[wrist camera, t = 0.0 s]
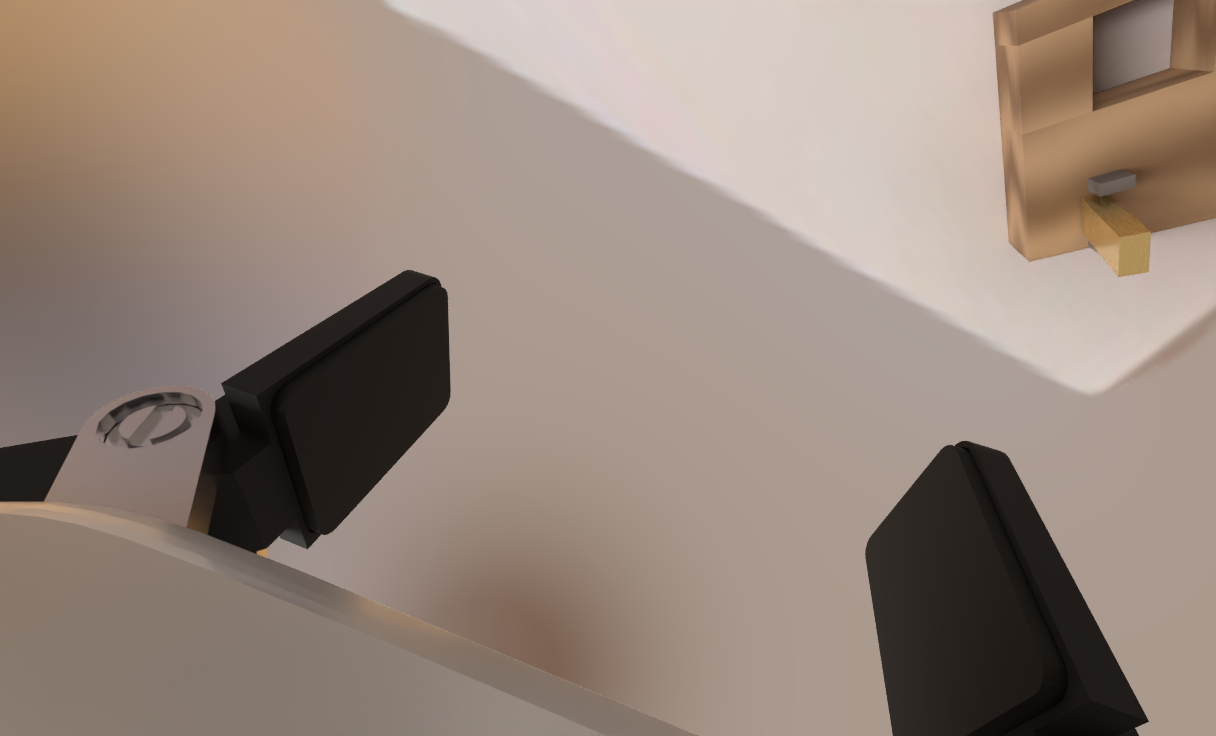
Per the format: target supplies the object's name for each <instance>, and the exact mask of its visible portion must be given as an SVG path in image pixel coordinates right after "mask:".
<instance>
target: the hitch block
mask: <svg viewBox="0 0 1216 736" xmlns="http://www.w3.org/2000/svg"><path fill="white" fill-rule="evenodd" d="M1131 1H1133V0H1022V1H1020V2H1018V3H1015V4H1013V5H1010V6H1008V7H1006V8H1003V9H1001V10H999V11H996V12H994V13H993V21H994V35H995V49H996V63H997V78H998V92H999V106H1000V120H1001V135H1002V149H1003V163H1004V177H1005V191H1006V206H1007V220H1008V234H1009V243H1010V244H1011V245H1012V246H1013V247H1014V248H1015V249H1016V250H1017V251H1018V252H1019V253H1021V254H1022V255H1023V256H1024V257H1025V258H1026V259H1027V260H1028V261H1029V262H1030V261H1034V260H1039V259H1043V258H1047V257H1051V256H1056V255H1060V254H1064V253H1068V252H1073V251H1077V250H1081V249H1085V248H1090V247H1091V248H1092V249H1094V250H1095V251H1096V252H1098V251H1097V250H1096V249H1095V248H1094V247H1093V245H1092V244H1091V243H1090V242H1089V241H1088V239H1087V238H1086V237H1085V236H1084V234H1083V233H1082V198H1087V197H1091V196H1095V195H1098V196H1100V197H1101V196H1105V195H1109V194H1110V195H1111V196H1112V197H1113V198H1114V199H1115V200H1116V201H1117V202H1118V203H1120V204H1121V205H1122V206H1123V207H1124V208H1125V209H1126V210H1127V211H1128V212H1130V213H1131V214H1132V215H1133V216H1134V217H1135V218H1136V219H1137V220H1138V221H1140V222H1141V223H1142V224H1143V225H1144V226H1145V227H1146V228H1147V229H1148V230H1150V231H1151V233H1153V232H1158V231H1162V230H1166V229H1170V228H1174V227H1179V226H1183V225H1187V224H1191V223H1196V222H1200V221H1204V220H1208V219H1213V218H1216V0H1174V11H1173V27H1172V43H1171V59H1170V68H1169V69H1166V70H1163V71H1160V72H1157V73H1154V74H1151V75H1148V76H1145V77H1143V78H1140V79H1137V80H1134V81H1131V82H1128V83H1125V84H1122V85H1119V86H1116V87H1113V88H1110V89H1107V90H1104V91H1101V92H1098V93H1096V94H1093V16H1095V15H1098V14H1100V13H1103V12H1105V11H1108V10H1110V9H1113V8H1115V7H1118V6H1121V5H1123V4H1126V3H1128V2H1131Z"/></svg>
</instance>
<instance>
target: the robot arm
mask: <svg viewBox="0 0 1216 736" xmlns="http://www.w3.org/2000/svg"><path fill="white" fill-rule="evenodd" d="M221 384H222V386H223V389H224V392H225V395H224V396H222V397H221V398H219V399H217V400H216V401H214V399H213V398H212V397H211V396H210V394H209V393H207V392H205V391H203V390H200V389H199V388H194V387H188V386H161V387H155V388H149V389H144V390H141V391H138V392H134V393H131V394H128V395H125V396H123V397H121V398H119V399H117V400H114V401H112V402H110V403H108V404H106V405H105V406H104V407H102V408H101V409H99V410H98V411H97V412H95V413H94V414H93V415H91V417H90V418H89V419H88V420H87V422H86V423H85V424H84V425H83V427H82V429H81V431H80V432H79V434H78V435H75V436H70V437H63V438H57V439H51V440H46V441H39V442H33V443H27V444H21V445H15V446H10V447H3V448H0V736H698V735H695V734H693V733H691V732H688V731H686V730H683V729H681V728H679V727H676V726H674V725H671V724H669V723H667V722H664V721H662V720H659V719H657V718H655V717H652V716H650V715H647V714H645V713H643V712H640V711H638V710H635V709H633V708H630V707H628V706H626V705H623V704H621V703H619V702H616V701H614V700H611V699H609V698H607V697H604V696H602V695H599V694H597V693H594V692H592V691H589V690H587V689H585V688H583V687H580V686H578V685H575V684H573V683H571V682H568V681H566V680H563V679H561V678H559V677H556V676H554V675H551V674H549V673H547V672H544V671H541V670H539V669H537V668H535V667H532V666H530V665H527V664H525V663H522V662H520V661H518V660H515V659H513V658H510V657H508V656H506V655H503V654H501V653H498V652H496V651H494V650H491V649H489V648H486V647H484V646H481V645H479V644H477V643H474V642H472V641H470V640H467V639H464V638H462V637H459V636H457V635H455V634H452V633H450V632H448V631H445V630H443V629H440V628H438V627H435V626H433V625H430V624H428V623H426V622H423V621H421V620H418V619H416V618H414V617H411V616H408V615H406V614H404V613H401V612H399V611H396V610H394V609H391V608H389V607H387V606H384V605H382V604H379V603H377V602H374V601H372V600H370V599H367V598H365V597H362V596H360V595H357V594H355V593H353V592H350V591H348V590H345V589H343V588H340V587H338V586H335V585H333V584H330V583H328V582H325V581H323V580H321V579H318V578H316V577H314V576H311V575H309V574H306V573H304V572H301V571H299V570H296V569H294V568H290V567H289V566H286V565H283V564H281V563H278V562H276V561H273V560H270V559H268V558H267V553H268V546H269V545H270V544H272V543H273V542H274V540H276V539H277V538H278V536H280V538H281V539H284V540H286V541H289V542H291V543H294V544H296V545H298V546H301V547H303V548H306V549H308V548H309V547H310V546H311V545H312V544H313V543H314V542H315V541H316V540H317V538H318V537H319V536H320V535H321V534H323V535H327V534H329V533H330V532H332V531H334V530H335V529H336V528H337V527H338V525H339V524H340V523H341V522H342V521H343V520H344V519H345V518H346V517H347V516H348V515H349V513H350V512H351V511H352V510H353V509H354V508H355V507H356V506H357V504H359V503H360V501H361V500H362V499H363V498H364V497H365V496H366V495H367V494H368V493H369V492H370V490H372V488H373V487H374V486H375V485H376V484H377V483H378V482H379V481H380V480H381V479H382V477H383V476H384V475H385V474H386V473H387V472H388V471H389V470H390V469H391V468H392V466H393V465H394V464H395V463H396V462H397V461H398V460H399V459H400V458H401V457H402V456H403V455H404V453H405V452H406V451H407V450H408V449H409V448H410V447H411V446H412V445H413V444H414V443H415V441H416V440H417V439H418V438H419V437H420V436H421V435H422V434H423V433H424V432H425V430H426V429H427V428H428V427H429V426H430V425H431V424H432V423H433V422H434V421H435V420H436V418H437V417H438V416H439V415H440V414H441V413H442V412H443V411H444V409H445V408H446V406H447V405H448V402H449V399H450V360H449V326H448V295H447V291H446V289H444V288H442V287H441V284H440V281H439V280H438V279H437V278H435V277H432V276H428V275H425V274H422V273H418V272H415V271H412V270H406V271H404V272H402V273H401V274H399V275H397V276H396V277H394V278H392V279H391V280H389V281H387V282H386V283H384V284H383V285H381V286H379V287H378V288H376V289H374V290H373V291H371V292H369V293H368V294H366V295H365V296H363V297H361V298H360V299H358V300H356V301H355V302H353V303H351V304H350V305H348V306H347V307H345V308H343V309H342V310H340V311H338V312H337V313H335V314H334V315H332V316H330V317H329V318H327V319H325V320H324V321H322V322H321V323H319V324H317V325H316V326H314V327H312V328H311V329H309V330H307V331H306V332H304V333H303V334H301V335H299V336H298V337H296V338H294V339H293V340H291V341H290V342H288V343H286V344H285V345H283V346H281V347H280V348H278V349H276V350H275V351H273V352H272V353H270V354H268V355H267V356H265V357H263V358H262V359H260V360H259V361H257V362H255V363H254V364H252V365H250V366H249V367H247V368H246V369H244V370H242V371H241V372H239V373H237V374H236V375H234V376H232V377H231V378H229V379H228V380H226V381H224V382H223V383H221ZM865 555H866V563H867V570H868V577H869V583H870V589H871V596H872V602H873V609H874V616H875V622H876V629H877V635H878V642H879V648H880V655H881V660H882V668H883V674H884V681H885V687H886V694H887V700H888V706H889V713H890V719H891V726H892V732H893V736H1139V735H1138V733H1137V731H1136V729H1135V727H1138V726H1140V725H1142V724H1145V723H1147V722H1149V721H1148V719H1147V717H1146V715H1145V713H1144V711H1143V709H1142V707H1141V706H1140V704H1139V702H1138V700H1137V698H1136V696H1135V694H1134V692H1133V690H1132V689H1131V687H1130V685H1129V683H1128V681H1127V679H1126V677H1125V675H1124V674H1123V672H1122V670H1121V668H1120V666H1119V664H1118V662H1117V660H1116V659H1115V657H1114V655H1113V653H1112V651H1111V649H1110V647H1109V645H1108V643H1107V642H1106V640H1105V638H1104V636H1103V634H1102V632H1101V630H1100V628H1099V626H1098V625H1097V623H1096V621H1095V619H1094V617H1093V615H1092V614H1091V611H1090V610H1089V608H1088V606H1087V604H1086V602H1085V600H1084V598H1083V596H1082V594H1081V593H1080V591H1079V589H1078V587H1077V585H1076V583H1075V581H1074V579H1073V578H1072V576H1071V574H1070V572H1069V570H1068V568H1067V566H1066V564H1065V563H1064V561H1063V559H1062V557H1061V555H1060V553H1059V551H1058V549H1057V547H1056V546H1055V544H1054V542H1053V540H1052V538H1051V536H1050V534H1049V532H1048V530H1047V529H1046V527H1045V525H1044V523H1043V521H1042V519H1041V517H1040V516H1039V514H1038V512H1037V510H1036V508H1035V506H1034V504H1033V502H1032V500H1031V499H1030V497H1029V495H1028V493H1027V491H1026V489H1025V487H1024V485H1023V483H1022V482H1021V480H1020V478H1019V476H1018V474H1017V472H1016V470H1015V468H1014V466H1013V465H1012V463H1011V461H1010V459H1009V457H1008V456H1007V455H1006V454H1005V453H1003V452H1001V451H998V450H995V449H992V448H988V447H985V446H982V445H979V444H975V443H972V442H969V441H962V442H959V443H957V444H956V445H955V446H953V445H948V446H945V447H944V448H943V449H942V450H940V452H939V453H938V454H937V456H936V457H935V458H934V459H933V460H932V462H931V463H930V464H929V465H928V467H927V468H926V469H925V470H924V471H923V473H922V474H921V475H920V476H919V478H918V479H917V480H916V481H915V483H914V484H913V485H912V486H911V488H910V489H909V490H908V491H907V492H906V494H905V495H904V496H903V497H902V499H901V500H900V501H899V502H898V503H897V505H896V506H895V507H894V508H893V510H892V511H891V512H890V513H889V515H888V516H887V517H886V518H885V519H884V521H883V522H882V523H881V525H880V526H879V527H878V528H877V530H876V531H875V532H874V533H873V534H872V536H871V537H870V538H869V540H868V543H867V547H866V553H865Z"/></svg>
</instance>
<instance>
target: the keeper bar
mask: <svg viewBox="0 0 1216 736" xmlns="http://www.w3.org/2000/svg"><path fill="white" fill-rule="evenodd" d="M1082 233H1083V234H1084V236H1085V237H1086V238H1087V239H1088V241H1089V242H1090V243H1091V244H1092V245H1093V247H1094V248H1095V249H1096V250H1097V251H1098V253H1099V254H1100V255H1101V256H1102V258H1103V259H1104V260H1105V261H1106V262H1107V264H1108V265H1109V266H1110V267H1111V269H1112V270H1113V271H1114V272H1115V273H1116V275H1117V276H1118V277H1121V276H1127V275H1133V274H1139V273H1146V272H1149V254H1150V236H1151V231H1150V230H1148V229H1147V228H1146V227H1145V226H1144V225H1143V224H1142V223H1141V222H1140V221H1138V220H1137V219H1136V218H1135V217H1134V216H1133V215H1132V214H1131V213H1130V212H1128V211H1127V210H1126V209H1125V208H1124V207H1123V206H1122V205H1121V204H1120V203H1118V202H1117V201H1116V200H1115V199H1114V198H1113V197H1112V196H1111V195H1110V194H1109V195H1105V196H1101V197H1100V196H1098V195H1095V196H1091V197H1087V198H1082Z"/></svg>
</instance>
